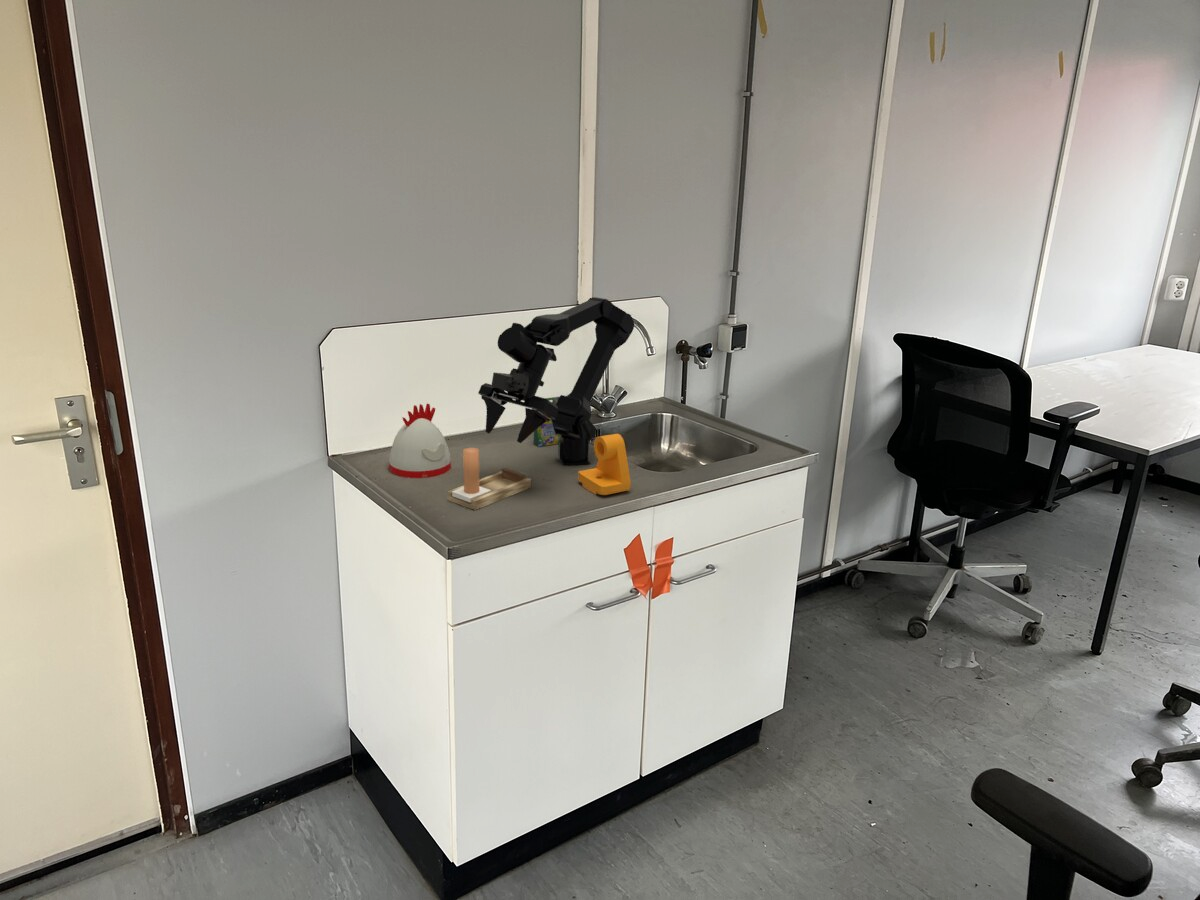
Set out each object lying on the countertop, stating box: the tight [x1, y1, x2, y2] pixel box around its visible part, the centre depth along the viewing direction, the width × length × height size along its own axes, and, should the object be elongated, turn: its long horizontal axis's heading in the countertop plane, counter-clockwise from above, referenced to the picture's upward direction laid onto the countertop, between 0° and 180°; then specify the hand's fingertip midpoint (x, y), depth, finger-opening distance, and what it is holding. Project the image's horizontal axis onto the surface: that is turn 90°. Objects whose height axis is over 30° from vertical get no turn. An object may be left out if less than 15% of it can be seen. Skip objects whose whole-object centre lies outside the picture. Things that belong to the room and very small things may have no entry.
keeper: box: [452, 447, 491, 503], centre depth 183 cm, size 6×5×10 cm
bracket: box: [577, 433, 632, 496], centre depth 193 cm, size 11×7×12 cm, turn 32°
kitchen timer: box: [388, 402, 452, 479], centre depth 201 cm, size 14×14×15 cm
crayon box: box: [532, 396, 561, 448], centre depth 220 cm, size 7×3×12 cm, turn 121°
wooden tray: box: [447, 467, 532, 511], centre depth 189 cm, size 17×8×3 cm, turn 143°
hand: (502, 437), depth 188 cm, fingers open, 9 cm apart
